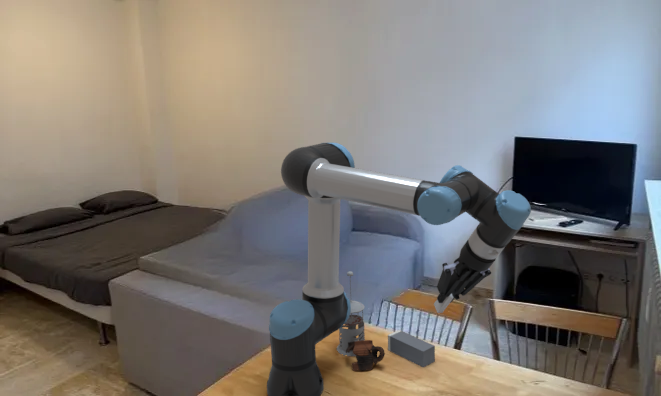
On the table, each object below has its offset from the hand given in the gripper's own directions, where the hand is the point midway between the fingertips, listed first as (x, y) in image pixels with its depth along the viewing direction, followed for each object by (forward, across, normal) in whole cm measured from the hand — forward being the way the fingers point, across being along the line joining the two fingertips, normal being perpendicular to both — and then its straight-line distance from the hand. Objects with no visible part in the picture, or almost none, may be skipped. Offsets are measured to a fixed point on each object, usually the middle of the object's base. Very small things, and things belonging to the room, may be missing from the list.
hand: (438, 308), depth 136 cm
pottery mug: (+31, -8, +2) cm, 32 cm away
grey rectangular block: (+22, +8, -1) cm, 24 cm away
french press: (+37, -8, +11) cm, 39 cm away
